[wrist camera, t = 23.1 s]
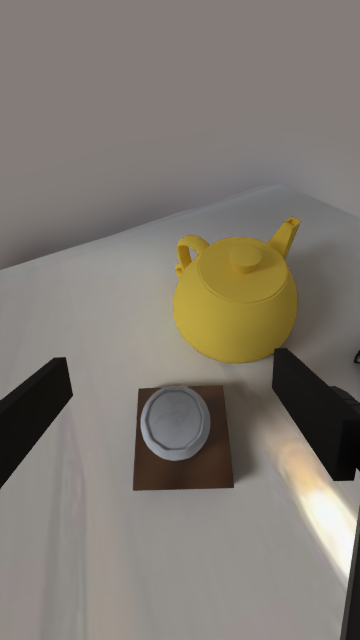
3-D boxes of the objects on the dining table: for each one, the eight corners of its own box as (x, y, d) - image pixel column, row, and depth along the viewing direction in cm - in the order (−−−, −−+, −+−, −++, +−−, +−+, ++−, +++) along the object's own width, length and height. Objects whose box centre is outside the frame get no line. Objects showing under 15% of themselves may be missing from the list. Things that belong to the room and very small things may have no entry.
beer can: (150, 441, 26) (122, 430, 15) (175, 402, 28) (164, 368, 17) (189, 469, 24) (186, 479, 14) (211, 426, 26) (224, 405, 16)
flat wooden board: (137, 487, 26) (132, 490, 24) (142, 393, 31) (138, 388, 29) (230, 485, 26) (234, 488, 23) (220, 390, 31) (222, 385, 28)
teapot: (240, 395, 30) (268, 359, 19) (141, 309, 37) (120, 247, 26) (320, 298, 37) (376, 229, 26) (223, 241, 44) (234, 167, 33)
